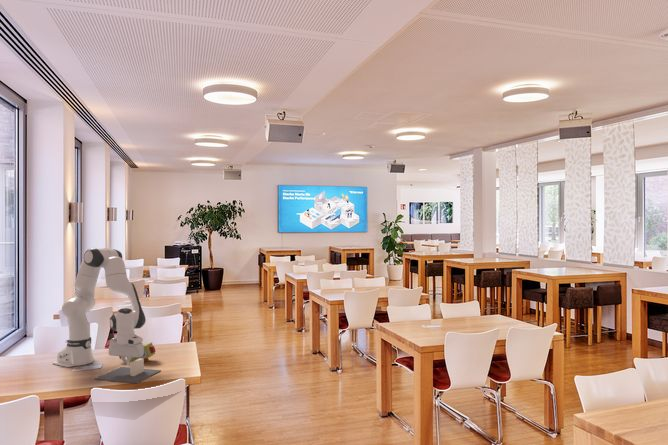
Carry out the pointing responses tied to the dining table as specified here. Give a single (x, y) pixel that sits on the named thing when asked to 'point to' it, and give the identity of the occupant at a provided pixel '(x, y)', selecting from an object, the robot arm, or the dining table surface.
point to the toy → (145, 353)
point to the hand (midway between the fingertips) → (126, 364)
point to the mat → (127, 375)
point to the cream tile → (136, 367)
